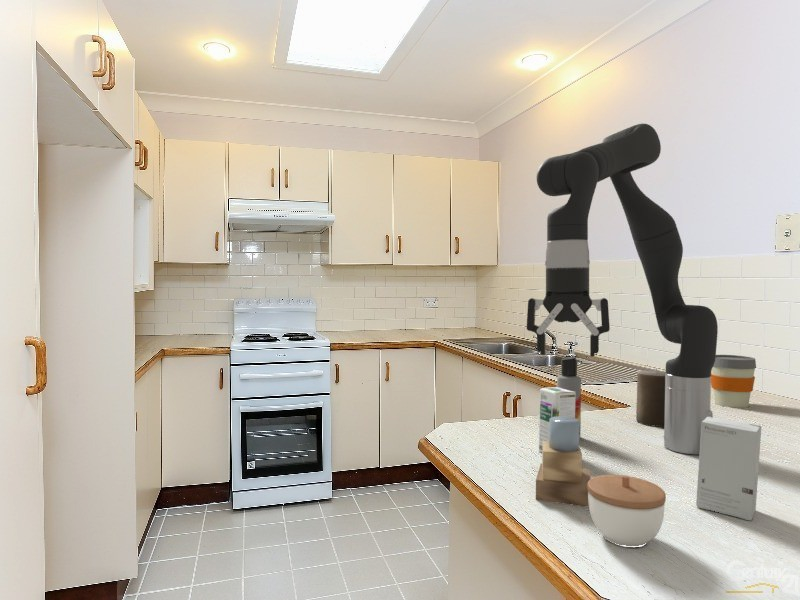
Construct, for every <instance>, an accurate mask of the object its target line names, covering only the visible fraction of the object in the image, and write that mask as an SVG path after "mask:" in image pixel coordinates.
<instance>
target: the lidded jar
mask: <svg viewBox="0 0 800 600" xmlns="http://www.w3.org/2000/svg"><path fill="white" fill-rule="evenodd" d="M587 488H588V503H589V507H588V508H589V509H588V510H589V513H590V517H591V520H592V522H593V524H594V526H595V527H596V528H597V530H598V531H599V532H600V533H601V535H602V536H604V537H605V538H606V539H607V540H609V541H611V542H613V543H616V544H619V545H626V546H639V545H643V544H645V543H647V544H648V543H649V542H651V541H652V540H653V539H655V537H656V536H658V534H659V532H660V530H661V529H662V526H663V523H664V517H665V503H666V492H665V491H664V489H663V488H662V487H660V486H659V485H657V484H655V483H654V482H652V481H649V480H646V479H642V478H639V477H635V476H629V475H622V474H601V475H597V476H594V477H592V478H591V477H590V480H589V481H588V484H587ZM604 537H603V538H604ZM605 538H604V539H605ZM606 539H605V540H606ZM607 540H606V541H607Z"/></svg>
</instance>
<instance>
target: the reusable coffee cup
mask: <svg viewBox="0 0 800 600" xmlns="http://www.w3.org/2000/svg"><path fill="white" fill-rule="evenodd" d="M756 368H757V364H756V358H755V357H751V356H745V355H734V354H716V358H715V363H714V365H713V368H712V370H711V388H712V390H713V391H712V392H713V397H714V398H713V400H714V404H715V405H718V406H722V407H726V408H734V409H736V408H737V409H746V408H749V405H750V404H749V403H750V398H751V394H752V393H751V392H753V390H754V387H755V386H754V384H755V380H756V377H755V376H754V375H755V372H756V371H755V369H756Z"/></svg>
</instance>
